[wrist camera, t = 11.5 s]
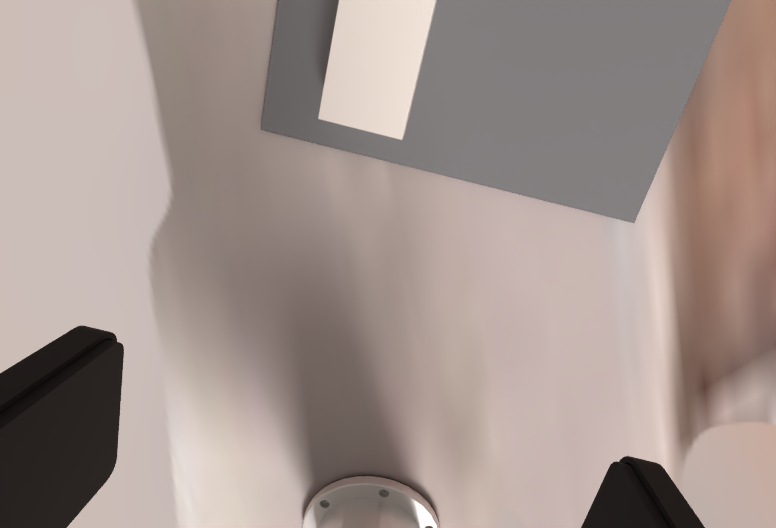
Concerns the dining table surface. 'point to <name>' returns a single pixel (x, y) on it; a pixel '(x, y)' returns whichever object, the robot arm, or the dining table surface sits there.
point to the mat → (518, 93)
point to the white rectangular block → (375, 63)
